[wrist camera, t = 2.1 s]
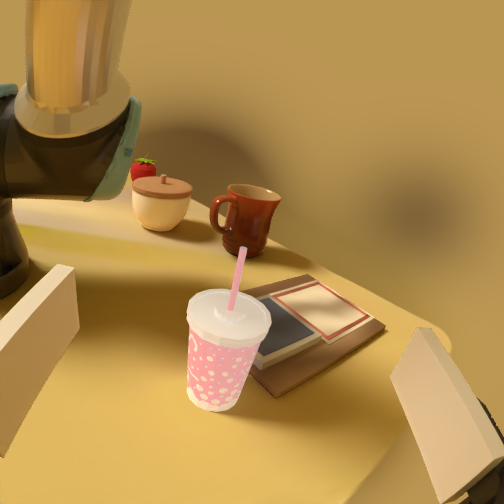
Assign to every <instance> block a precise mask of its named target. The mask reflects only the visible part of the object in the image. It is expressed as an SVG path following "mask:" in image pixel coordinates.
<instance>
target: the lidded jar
mask: <svg viewBox="0 0 504 504" xmlns="http://www.w3.org/2000/svg"><path fill="white" fill-rule="evenodd" d="M132 188H133V191H132V205H133V210H134V214H135V216H136V217H137V219H138V220H139V221H140V222H141V223H142V226H143V227H144V228H146V229H148V230H152V231H159V232H164V231H170V230H172V229H173V228H174V226H176V225H177V224H179V223H180V222H181V221H182V219H183V218H184V217H185V215H186V213H187V210H188V207H189V203H190V198H191V194H192V190H193V188H192V186H191V185H189V184H188V183H186V182H183V181H180V180H176V179H172V178H167V175H163V174H162V175H161V177H142V178H138V179H136V180H134V181H133V184H132Z"/></svg>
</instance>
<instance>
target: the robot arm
mask: <svg viewBox="0 0 504 504" xmlns="http://www.w3.org/2000/svg"><path fill="white" fill-rule="evenodd" d="M131 2H132V0H26V1H25V63H26V64H25V65H26V80H27V82H26V83H25V84H24V85H23V86H22V88H21V89H20V90H19V91H18V87H17V85H16V84H13V83H8V84H0V299H1V298H3V297H5V296H7V295H8V294H10V293H12V292H13V291H14V290H16V289H17V288H18V287H19V286H20V285H21V284H22V283H23V282H24V281H25V279H26V278H27V276H28V273H29V259H28V251H27V248H26V245H25V243H24V241H23V238H22V236H21V233H20V231H19V228H18V225H17V223H16V220H15V218H14V215H13V210H12V198H15V199H17V198H27V199H55V200H76V201H84V202H90V201H92V200H111V199H114V198H115V197H117V196H118V195H119V194H120V193H121V191H122V190H123V187H124V185H125V182H126V179H127V176H128V173H129V169H130V165H131V161H132V156H133V150H134V146H135V143H136V140H137V135H138V130H139V125H140V118H141V108H142V107H141V102H140V100H138V99H136V98H134V97H132V96H130V86H129V83H128V81H127V79H126V78H125V76H124V75H123V74H122V73H121V72H119V71H118V67H119V61H120V55H121V50H122V44H123V39H124V34H125V29H126V24H127V19H128V15H129V11H130V7H131ZM79 329H80V323H79V314H78V304H77V293H76V279H75V268H73V267H69V266H65V265H61V264H57V265H56V266H55V267H54V268H53V269H52V270H50V271H49V272H48V273H47V274H46V275H45V276H44V277H43V278H42V279H41V280H40V281H39V282H38V283H37V284H36V285H35V286H34V287H33V288H32V289H31V290H30V291H29V292H28V293H27V294H26V295H25V296H24V297H23V298H22V299H21V300H20V301H19V302H18V303H17V304H16V305H15V306H14V307H13V308H12V309H11V310H10V311H9V312H8V313H7V314H6V315H5V316H4V317H3V318H2V319H1V321H0V457H2V458H4V456H5V454H6V452H7V450H8V449H9V447H10V445H11V443H12V441H13V439H14V437H15V435H16V433H17V431H18V429H19V428H20V426H21V424H22V422H23V420H24V418H25V417H26V415H27V413H28V411H29V410H30V408H31V406H32V404H33V403H34V401H35V399H36V397H37V396H38V394H39V392H40V391H41V389H42V387H43V386H44V384H45V382H46V381H47V379H48V377H49V376H50V374H51V372H52V371H53V369H54V368H55V366H56V364H57V363H58V361H59V360H60V358H61V356H62V355H63V353H64V352H65V350H66V349H67V347H68V346H69V344H70V343H71V341H72V340H73V338H74V336H75V335H76V333H77V332H78V330H79ZM389 378H390V380H391V382H392V384H393V387H394V389H395V391H396V394H397V396H398V398H399V401H400V403H401V405H402V408H403V410H404V412H405V415H406V417H407V420H408V422H409V425H410V427H411V429H412V432H413V434H414V437H415V439H416V442H417V445H418V447H419V450H420V452H421V455H422V457H423V460H424V462H425V465H426V468H427V471H428V473H429V476H430V479H431V482H432V484H433V487H434V490H435V493H436V496H437V499H438V502H439V504H445V503H448V502H451V501H454V500H456V499H458V498H459V497H460V496H462V495H463V494H464V493H465V492H467V493H468V495H469V497H467V498H466V499H465V500H464V501H462V502H461V503H459V504H504V437H503V435H502V434H501V432H500V430H499V428H498V426H496V423H495V421H494V419H493V418H491V414H490V413H489V411H488V409H487V408H486V406H485V405H484V404H483V403H482V402H481V401H480V400H479V399H478V398H477V397H476V396H475V394H474V393H473V391H472V389H471V388H470V386H469V385H468V383H467V381H466V380H465V378H464V377H463V375H462V374H461V372H460V371H459V369H458V367H457V366H456V364H455V363H454V362H453V360H452V358H451V357H450V355H449V354H448V352H447V351H446V349H445V348H444V346H443V345H442V343H441V342H440V341H439V339H438V338H437V336H436V335H435V333H434V332H433V330H432V329H431V328H422V327H417V328H416V330H415V332H414V334H413V336H412V338H411V339H410V341H409V343H408V345H407V347H406V349H405V350H404V352H403V354H402V356H401V358H400V359H399V361H398V363H397V365H396V366H395V368H394V370H393V371H392V373H391V375H390V376H389Z"/></svg>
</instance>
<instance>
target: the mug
mask: <svg viewBox="0 0 504 504" xmlns="http://www.w3.org/2000/svg"><path fill="white" fill-rule="evenodd" d="M227 189H228V195H222V196H218V197H216V198H215V199H214V200H213V201H212V204H211V207H210V222H211V225H212V227H213V228H214V230H216V231H217V232H219V233H221V234H223V236H222V240H223V246H224V248H225V249H226V250H227V251H229V252H230V253H232V254H234V255H237V256H238V255H239V250H240V247H242V246H243V247H246V248H247V253H246V257H255V256H258V255H260V254H261V253H262V252H263V250H264V248H265V245H266V243H267V238H268V234H269V230H270V224H271V220H272V216H273V214H274V212H275V210H276V208H277V206H278V205H279V203H280V201H281V199H282V198H281V196H279V195H278V194H277V193H275V192H273V191H270V190H268V189H265V188H261V187H257V186H252V185H245V184H232V185H229V186H228V188H227ZM223 202H229V206H228V212H227V216H226V220H225V225H224V226H223V227H221V226H219V224H218V210H219V207H220V205H221V204H222V203H223Z"/></svg>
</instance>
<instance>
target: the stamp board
mask: <svg viewBox="0 0 504 504" xmlns="http://www.w3.org/2000/svg"><path fill="white" fill-rule="evenodd" d="M241 292H242V293H245V294H247V295H250V296H252V297H254V298H255V299H257V300H258V301H260V302H261V303H263V304H264V306H265V307H266V308H267V309H268V311H269V312H270V315H271V322H272V323H271V326H270V328H269V331H268V333H267V335H266V337H265V338H264V340H262V341H261V343H260V345H259V348H258V351H257V353H256V356H255V358H254V361H253V363H252V366H251V368H250V371H249V373H250V374H251V375H252V376H253V377H254V378H255V379H256V380H257V381H258V382H259V383H260V384H261V385H262V386H263V387H264V388H266V389H267V390H268V391H269V392H270V393H271V394H272V395H273V396H274V397H275V398H278V397H279V396H281V395H283V394H285V393H286V392H288V391H290V390H292V389H293V388H295V387H297V386H299V385H300V384H302V383H304V382H305V381H307V380H309V379H310V378H312V377H314V376H315V375H317V374H319V373H320V372H322V371H324V370H325V369H327V368H328V367H330V366H332V365H333V364H335V363H336V362H338V361H339V360H341V359H342V358H344V357H345V356H347V355H349V354H350V353H352V352H353V351H355V350H356V349H357V348H359V347H360V346H362V345H363V344H365V343H366V342H368V341H369V340H371V339H372V338H373V337H375V336H376V335H378V334H379V333H381V332H382V331H383V330H384V328H385V325H384V324H382V323H381V322H379V321H378V320H376V319H375V317H373V316H372V315H370V314H369V313H367V312H366V311H364V310H363V309H361V308H360V307H358V306H356V305H355V304H353V303H352V302H350V301H349V300H347V299H346V298H344V297H343V296H341V295H340V294H338V293H337V292H335V291H334V290H332V289H331V288H329V287H328V286H326V285H325V284H323V283H322V282H320V281H319V280H316V279H314V278H313V277H311V276H310V275H308V274H306V275H302V276H298V277H295V278H291V279H287V280H283V281H280V282H276V283H272V284H268V285H264V286H260V287H256V288H253V289H249V290H245V291H241Z"/></svg>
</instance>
